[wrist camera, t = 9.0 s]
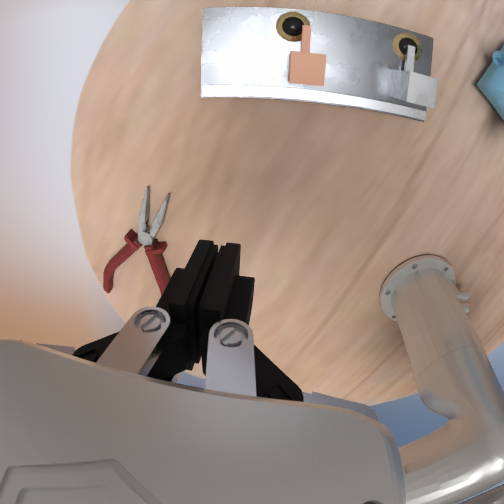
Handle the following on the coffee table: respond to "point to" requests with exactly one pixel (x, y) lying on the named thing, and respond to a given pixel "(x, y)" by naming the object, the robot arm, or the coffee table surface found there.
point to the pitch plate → (322, 42)
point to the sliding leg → (306, 63)
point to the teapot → (494, 82)
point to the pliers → (151, 247)
